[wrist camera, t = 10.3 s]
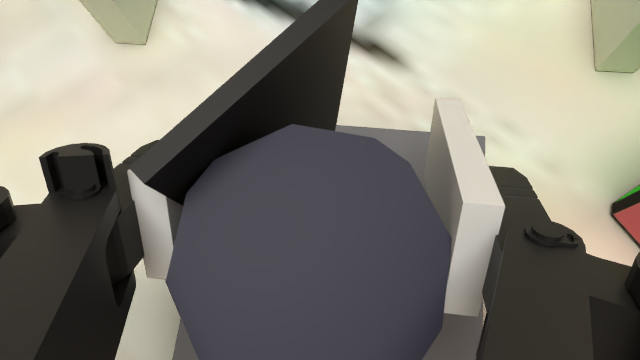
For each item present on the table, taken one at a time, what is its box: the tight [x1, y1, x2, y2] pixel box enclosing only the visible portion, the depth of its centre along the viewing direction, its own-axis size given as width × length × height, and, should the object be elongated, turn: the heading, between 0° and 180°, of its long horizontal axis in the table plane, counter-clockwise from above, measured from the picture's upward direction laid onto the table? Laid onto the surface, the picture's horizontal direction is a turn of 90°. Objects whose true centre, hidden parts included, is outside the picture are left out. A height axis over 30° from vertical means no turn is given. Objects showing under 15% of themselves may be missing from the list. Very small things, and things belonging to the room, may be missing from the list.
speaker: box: [129, 0, 452, 360], centre depth 13 cm, size 8×6×10 cm
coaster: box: [173, 125, 485, 360], centre depth 18 cm, size 11×11×1 cm
